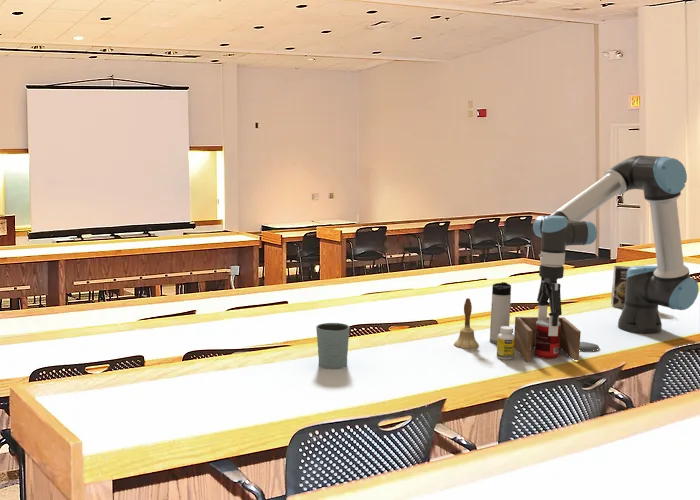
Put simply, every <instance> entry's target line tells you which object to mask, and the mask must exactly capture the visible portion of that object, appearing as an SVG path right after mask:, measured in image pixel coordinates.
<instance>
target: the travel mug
mask: <svg viewBox="0 0 700 500" xmlns="http://www.w3.org/2000/svg"><path fill="white" fill-rule="evenodd" d="M491 292H492V293H491V304H490V305H491V307H490V326H489V327H490V328H489V342H490V343H492V344H496V345H497V341H498V334H500V333H501V332H500V329H501V327H502V326H509V327H510V321H511V320H510V319H511V318H510V315H511V303H512V302H511V296H512V293H511V292H512V285H511V284H509V283H508V282H504V281H502V282H498V283H493V284H492V290H491Z"/></svg>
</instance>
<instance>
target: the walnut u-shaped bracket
mask: <svg viewBox="0 0 700 500" xmlns="http://www.w3.org/2000/svg"><path fill="white" fill-rule="evenodd" d="M514 319H515V320H514V331H513V335H514V336H515V346H514V349H516V351H517V352H518V353H519V355H520V356H521V357H522V358H523V359H524V360H525V362H526V363H528V362H529V363H531V359H532V358H531V357H532V348H535V334H536V321H538V316H515V318H514ZM547 319H550V316H547ZM559 322H560V324H561V327H560V343H559V349H560V350H562V351H563V352H564V354H566V355H567V356H568V357H569V356H570V357H571V358H572V359H574V360H579V361H580V351H579V350H580V342H581V333H582V331H581V330H580V329H579V328H577V327H576V326H575V325H574V324H573V323H571V322H570V320H568V319H567V318H565V316H563V317H561V316H559ZM570 357H569V358H570ZM571 358H570V359H571ZM572 359H571V360H572Z"/></svg>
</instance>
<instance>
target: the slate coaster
mask: <svg viewBox="0 0 700 500" xmlns="http://www.w3.org/2000/svg"><path fill="white" fill-rule="evenodd" d="M597 349H600V347H599V345H598V344H595V343H592V342H587V341H586V342H585V341H580V351H579V352H585V351H592V352H594V351H593V350H597ZM597 351H598V350H597Z"/></svg>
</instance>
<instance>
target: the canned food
mask: <svg viewBox="0 0 700 500" xmlns="http://www.w3.org/2000/svg"><path fill="white" fill-rule="evenodd" d="M560 327H561V324H560V322H559V323H558V336H549V335H548V333H549V319H542V320H538V321H536V334H535V347H534V355H535V356H536V357H538V358H539V359H549V360H551V359H556V358H558V357H559V354H560V348H559V343H560Z"/></svg>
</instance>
